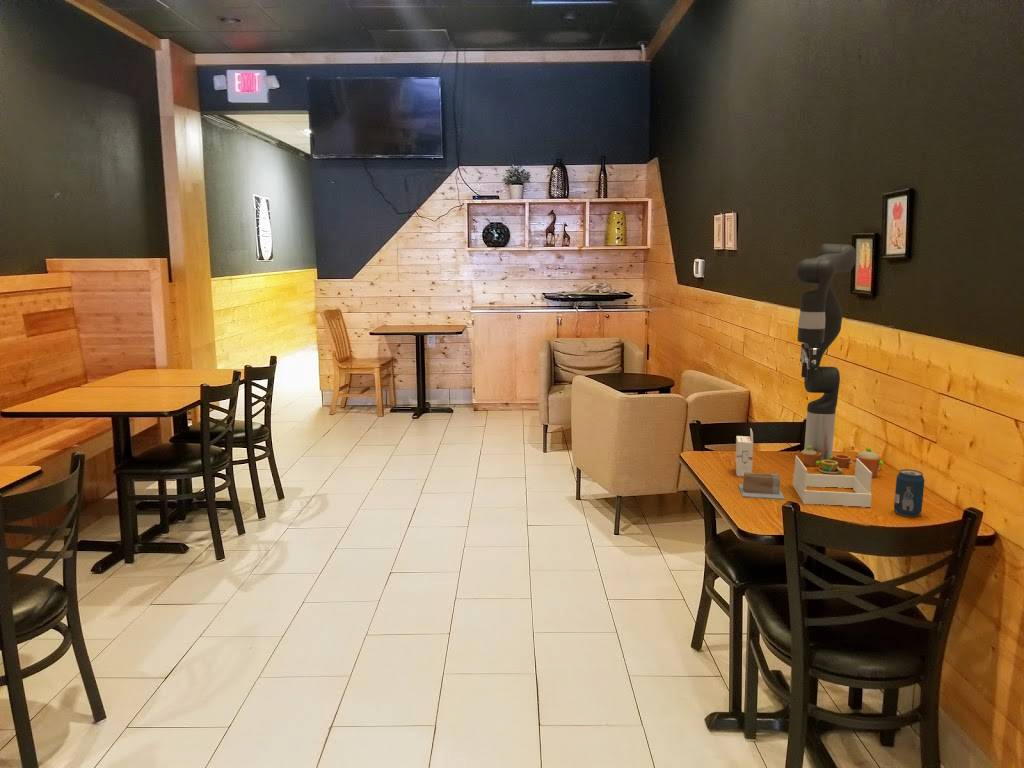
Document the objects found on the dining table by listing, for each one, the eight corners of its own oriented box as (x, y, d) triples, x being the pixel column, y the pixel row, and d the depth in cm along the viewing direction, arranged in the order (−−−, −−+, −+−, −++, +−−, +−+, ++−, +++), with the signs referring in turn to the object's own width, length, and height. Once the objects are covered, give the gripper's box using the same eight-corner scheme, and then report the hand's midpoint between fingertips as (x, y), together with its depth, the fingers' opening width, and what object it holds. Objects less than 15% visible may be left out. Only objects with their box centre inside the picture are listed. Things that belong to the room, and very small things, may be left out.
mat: (738, 485, 237) (738, 483, 237) (778, 487, 235) (778, 486, 235) (742, 497, 225) (742, 495, 225) (784, 499, 223) (784, 498, 223)
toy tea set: (880, 468, 257) (883, 440, 255) (887, 480, 242) (890, 452, 241) (799, 461, 265) (801, 434, 263) (801, 473, 251) (803, 445, 249)
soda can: (912, 508, 215) (916, 468, 213) (926, 517, 208) (930, 475, 206) (888, 509, 215) (892, 468, 213) (901, 517, 208) (905, 475, 206)
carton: (792, 485, 237) (794, 454, 235) (854, 488, 234) (856, 457, 232) (804, 503, 219) (806, 470, 218) (870, 507, 216) (873, 474, 214)
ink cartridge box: (734, 469, 255) (736, 426, 252) (749, 469, 254) (751, 427, 251) (736, 476, 246) (738, 432, 244) (752, 477, 245) (754, 433, 243)
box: (743, 487, 233) (744, 472, 232) (776, 489, 231) (777, 473, 230) (744, 492, 229) (745, 476, 228) (779, 494, 227) (780, 478, 226)
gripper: (830, 329, 219) (826, 383, 222) (819, 324, 233) (815, 376, 236) (803, 328, 220) (799, 383, 223) (794, 324, 234) (790, 375, 237)
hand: (807, 379), depth 230 cm, fingers open, 8 cm apart
